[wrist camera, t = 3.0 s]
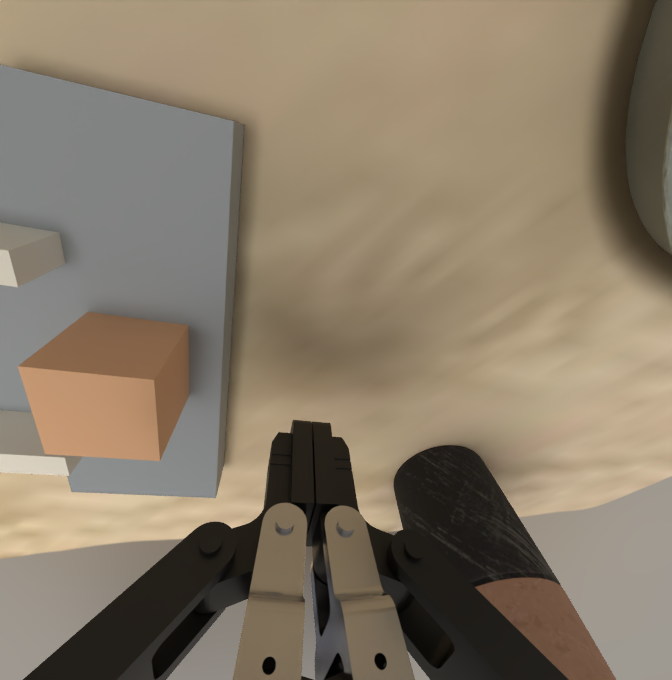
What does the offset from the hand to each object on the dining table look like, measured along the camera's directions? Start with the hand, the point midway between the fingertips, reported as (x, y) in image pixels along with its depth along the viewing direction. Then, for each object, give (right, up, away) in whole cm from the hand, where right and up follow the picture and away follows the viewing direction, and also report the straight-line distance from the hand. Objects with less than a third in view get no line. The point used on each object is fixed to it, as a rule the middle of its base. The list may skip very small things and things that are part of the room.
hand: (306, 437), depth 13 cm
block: (-8, +3, +2) cm, 9 cm away
